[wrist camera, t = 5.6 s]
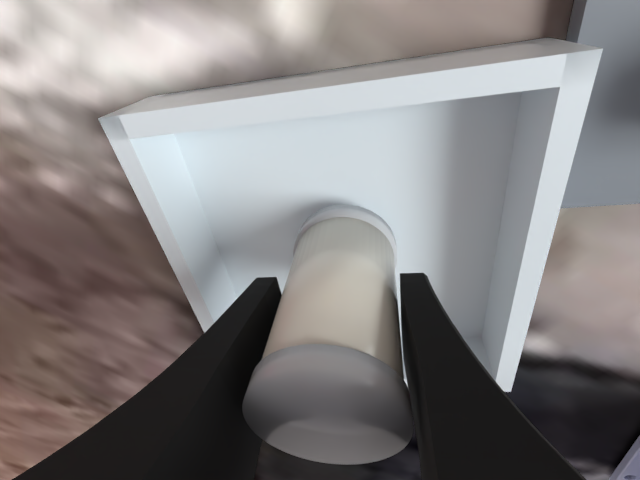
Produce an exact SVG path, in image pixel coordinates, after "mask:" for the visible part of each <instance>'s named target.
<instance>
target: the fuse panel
mask: <svg viewBox="0 0 640 480" xmlns="http://www.w3.org/2000/svg"><path fill="white" fill-rule="evenodd" d="M566 41H569V42H574V43H579V44H584V45H589V46H594V47H598V48H603V51H602V55H601V58H600V62H599V66H598V69H597V73H596V77H595V81H594V84H593V88H592V92H591V96H590V99H589V103H588V107H587V110H586V114H585V118H584V122H583V125H582V129H581V133H580V136H579V140H578V144H577V148H576V151H575V155H574V159H573V163H572V166H571V170H570V174H569V177H568V181H567V185H566V189H565V192H564V196H563V200H562V204H561V207H560V208H573V207H590V206H606V205H623V204H640V0H574V4H573V9H572V13H571V18H570V23H569V27H568V32H567V37H566Z"/></svg>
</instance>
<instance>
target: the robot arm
mask: <svg viewBox="0 0 640 480" xmlns="http://www.w3.org/2000/svg"><path fill="white" fill-rule="evenodd" d="M281 296H282V294H281V291H280V287H279V284H278V280H277V277H257V278H256V279H255V280H254V281H253V282H252V283H251V284H250V285H249V286H248V287H247V288H246V289H245V291H244V292H243V293H242V294H241V295H240V296H239V297H238V298H237V299H236V300H235V301H234V302H233V304H232V305H231V306H230V307H229V308H228V309H227V310H226V311H225V312H224V313H223V314H222V315H221V316H220V317H219V318H218V320H217V321H216V322H215V323H214V324H213V325H212V326H211V327H210V328H209V329H208V330H207V331H206V332H205V333H204V334H203V335H202V336H201V337H200V338H199V339H198V340H197V341H196V342H195V343H194V344H193V345H191V346H190V347H189V348H188V349H187V350H186V351H185V352H184V353H183V354H182V355H181V356H180V357H179V358H178V359H177V360H176V361H175V362H174V363H172V364H171V365H170V366H169V367H168V368H167V369H166V370H165V371H163V372H162V373H161V374H160V375H159V376H158V377H156V378H155V379H154V380H153V381H152V382H150V383H149V384H148V385H147V386H146V387H144V388H143V389H142V390H141V391H139V392H138V393H137V394H136V395H134V396H133V397H132V398H131V399H129V400H128V401H127V402H125V403H124V404H123V405H121V406H120V407H119V408H117V409H116V410H114V411H113V412H112V413H110V414H109V415H108V416H106V417H105V418H104V419H102V420H101V421H100V422H98V423H97V424H96V425H94V426H93V427H92V428H90V429H89V430H87V431H86V432H85V433H83V434H82V435H80V436H79V437H77V438H76V439H74V440H73V441H71V442H70V443H68V444H67V445H66V446H64V447H63V448H61V449H59V450H58V451H56V452H55V453H53V454H52V455H50V456H49V457H47V458H46V459H44V460H43V461H41V462H40V463H38V464H36V465H35V466H33V467H32V468H30V469H28V470H27V471H25V472H24V473H22V474H21V475H19V476H17V477H16V478H14V479H12V480H254V476H255V471H256V466H257V461H258V455H259V451H260V447H261V443H262V439H261V438H260V437H259V436H258V435H257V434H255V432H254V431H253V430H252V429H251V428H250V427H249V425H248V424H247V422H246V420H245V418H244V416H243V412H242V404H243V400H244V397H245V394H246V391H247V388H248V385H249V382H250V379H251V375H252V373H253V371H254V369H255V367H256V366H257V364H258V363H259V362H260V361H261V360H262V357H263V353H264V350H265V347H266V344H267V341H268V337H269V334H270V331H271V328H272V325H273V322H274V318H275V315H276V312H277V309H278V306H279V303H280V299H281ZM400 300H401V329H402V344H403V359H404V366H405V372H406V378H407V384H408V389H409V392H410V397H411V408H412V414H413V420H414V426H415V432H416V438H417V444H418V451H419V459H420V468H421V480H586V479H585V478H584V477H583V476H582V475H581V474H580V473H579V472H578V471H577V470H576V469H575V468H574V467H573V466H572V465H571V464H570V463H569V462H568V461H567V460H566V459H565V458H564V457H563V456H562V455H561V454H560V453H559V452H558V451H557V450H556V449H555V448H554V447H553V446H552V445H551V444H550V443H549V441H548V440H547V439H546V438H545V437H544V436H543V435H542V434H541V433H540V432H539V431H538V430H537V429H536V428H535V426H534V425H533V424H532V423H531V422H530V421H529V420H528V419H527V418H526V417H525V415H524V414H523V413H522V412H521V411H520V410H519V409H518V408H517V406H516V405H515V404H514V403H513V402H512V401H511V399H510V398H509V397H508V396H507V395H506V394H505V392H504V391H503V390H502V389H501V388H500V386H499V385H498V384H497V383H496V381H495V380H494V379H493V378H492V376H491V375H490V374H489V373H488V371H487V370H486V369H485V368H484V366H483V365H482V364H481V362H480V361H479V360H478V358H477V357H476V356H475V354H474V353H473V352H472V350H471V349H470V347H469V346H468V345H467V343H466V342H465V340H464V339H463V337H462V336H461V334H460V333H459V331H458V330H457V328H456V327H455V325H454V324H453V322H452V321H451V319H450V318H449V316H448V314H447V313H446V311H445V310H444V308H443V306H442V304H441V303H440V301H439V299H438V297H437V296H436V294H435V292H434V290H433V288H432V286H431V284H430V281H429V279H428V276H427V275H425V274H424V273H400ZM610 480H640V435H639V437H638V438H637V440H636V441H635V442H634V444H633V445H632V447H631V448H630V449H629V451H628V452H627V454H626V455H625V457H624V458H623V459H622V461H621V462H620V464H619V465H618V466H617V468H616V469H615V471H614V472H613V474H612V475H611V476H610Z"/></svg>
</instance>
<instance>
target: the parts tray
mask: <svg viewBox="0 0 640 480" xmlns="http://www.w3.org/2000/svg"><path fill="white" fill-rule="evenodd" d="M602 51H603V48H598V47H594V46H589V45H584V44H579V43H574V42H569V41H564V40H560V39H555V38H550V37H548V38H541V39H534V40H527V41H520V42H514V43H507V44H500V45H493V46H487V47H480V48H473V49H466V50H460V51H453V52H446V53H439V54H433V55H426V56H419V57H412V58H405V59H399V60H392V61H385V62H378V63H372V64H365V65H358V66H351V67H345V68H338V69H331V70H324V71H317V72H311V73H304V74H297V75H290V76H284V77H277V78H270V79H263V80H257V81H250V82H243V83H236V84H230V85H223V86H216V87H209V88H202V89H196V90H189V91H182V92H175V93H169V94H162V95H155V96H150V97H148V98H145V99H143V100H140V101H138V102H136V103H133V104H131V105H128V106H126V107H124V108H121V109H119V110H116V111H114V112H112V113H109V114H107V115H104V116H102V117H100V118H98V120H99V122H100V124H101V126H102V128H103V130H104V132H105V134H106V136H107V138H108V140H109V142H110V144H111V146H112V148H113V150H114V152H115V154H116V156H117V158H118V160H119V162H120V164H121V166H122V168H123V170H124V172H125V174H126V176H127V178H128V180H129V182H130V184H131V186H132V188H133V190H134V192H135V194H136V196H137V198H138V200H139V202H140V204H141V206H142V208H143V210H144V212H145V214H146V216H147V218H148V220H149V222H150V224H151V226H152V228H153V230H154V232H155V234H156V236H157V239H158V241H159V243H160V245H161V247H162V249H163V251H164V253H165V255H166V257H167V259H168V261H169V263H170V265H171V267H172V269H173V271H174V273H175V275H176V277H177V279H178V281H179V283H180V285H181V287H182V289H183V291H184V293H185V295H186V297H187V299H188V301H189V303H190V305H191V307H192V309H193V311H194V313H195V315H196V317H197V319H198V321H199V323H200V325H201V327H202V329H203V331H204V333H205V332H206V331H207V330H208V329H209V328H210V327H211V326H212V325H213V324H214V323H215V322H216V321H217V320H218V318H219V317H220V316H221V315H222V314H223V313H224V312H225V311H226V310H227V309H228V308H229V307H230V306H231V305H232V304H233V302H234V301H235V300H236V299H237V298H238V297H239V296H240V295H241V294H242V293H243V292H244V291H245V289H246V288H247V287H248V286H249V285H250V284H251V283H252V282H253V281H254V280H255V279H256V278H257V277H277V280H278V284H279V287H280V291H281V294H282V293H283V290H284V287H285V283H286V280H287V277H288V274H289V271H290V268H291V264H292V261H293V258H294V256H293V251H294V245H295V241H296V238H297V235H298V232H299V230H300V228H301V226H302V225H303V223H304V222H305V221H306V220H307V218H309V217H310V216H311V215H312V214H314V213H315V212H317V211H319V210H321V209H323V208H326V207H329V206H334V205H354V206H359V207H362V208H365V209H368V210H370V211H372V212H374V213H376V214H377V215H379V216H380V217H381V218H382V219H383V220H384V221H385V222H386V223H387V224H388V225H389V226H390V228H391V230H392V232H393V234H394V236H395V240H396V247H397V266H396V269H395V274H396V286H397V298H398V311H399V323H400V336H401V348H402V361H403V373H404V381H405V383H406V385H407V387H408V384H407V378H406V372H405V366H404V359H403V344H402V329H401V300H400V273H424V274H425V275H427V276H428V279H429V281H430V284H431V286H432V288H433V290H434V292H435V294H436V296H437V297H438V299H439V301H440V303H441V304H442V306H443V308H444V310H445V311H446V313H447V314H448V316H449V318H450V319H451V321H452V322H453V324H454V325H455V327H456V328H457V330H458V331H459V333H460V334H461V336H462V337H463V339H464V340H465V342H466V343H467V345H468V346H469V347H470V349H471V350H472V352H473V353H474V354H475V356H476V357H477V358H478V360H479V361H480V362H481V364H482V365H483V366H484V368H485V369H486V370H487V371H488V373H489V374H490V375H491V376H492V378H493V379H494V380H495V381H496V383H497V384H498V385H499V386H500V388H501V389H502V390H503V391H504V392H511V390H512V386H513V382H514V379H515V375H516V371H517V368H518V364H519V360H520V356H521V353H522V349H523V345H524V341H525V338H526V334H527V330H528V327H529V323H530V319H531V315H532V312H533V308H534V304H535V300H536V297H537V293H538V289H539V286H540V282H541V278H542V274H543V271H544V267H545V263H546V259H547V256H548V252H549V248H550V245H551V241H552V237H553V233H554V230H555V226H556V222H557V218H558V215H559V211H560V207H561V204H562V200H563V196H564V192H565V189H566V185H567V181H568V177H569V174H570V170H571V166H572V163H573V159H574V155H575V151H576V148H577V144H578V140H579V136H580V133H581V129H582V125H583V122H584V118H585V114H586V110H587V107H588V103H589V99H590V96H591V92H592V88H593V84H594V81H595V77H596V73H597V69H598V66H599V62H600V58H601V55H602Z"/></svg>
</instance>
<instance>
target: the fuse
mask: <svg viewBox="0 0 640 480" xmlns="http://www.w3.org/2000/svg"><path fill="white" fill-rule="evenodd" d="M293 256H294V258H293V261H292V264H291V268H290V271H289V274H288V277H287V280H286V283H285V287H284V290H283V293H282V296H281V299H280V303H279V306H278V309H277V312H276V315H275V318H274V322H273V325H272V328H271V331H270V334H269V337H268V341H267V344H266V347H265V350H264V353H263V357H262V360H261V361H260V362H259V363H258V364H257V366H256V367H255V369H254V371H253V373H252V375H251V379H250V382H249V385H248V388H247V391H246V394H245V397H244V400H243V404H242V412H243V416H244V418H245V420H246V422H247V424H248V425H249V427H250V428H251V429H252V430H253V431H254V432H255V434H257V435H258V436H259V437H260V438H261V439H263V440H264V441H266V442H267V443H269V444H270V445H272V446H274V447H276V448H278V449H280V450H282V451H284V452H286V453H289V454H291V455H294V456H297V457H300V458H304V459H308V460H312V461H317V462H322V463H330V464H349V465H350V464H364V463H371V462H376V461H379V460H383V459H386V458H388V457H391V456H393V455H395V454H396V453H398V452H400V451H401V450H402V449H404V448H405V447H406V445H407V444H408V443H409V441H410V440H411V438H412V434H413V419H412V408H411V397H410V392H409V389H408V387H407V385H406V383H405V381H404V373H403V361H402V348H401V336H400V323H399V311H398V298H397V286H396V274H395V269H396V266H397V247H396V240H395V236H394V234H393V232H392V230H391V228H390V226H389V225H388V224H387V223H386V222H385V221H384V220H383V219H382V218H381V217H380V216H379V215H377V214H376V213H374V212H372V211H370V210H368V209H365V208H362V207H359V206H354V205H334V206H329V207H326V208H323V209H321V210H319V211H317V212H315V213H314V214H312V215H311V216H310V217H309V218H307V220H306V221H305V222H304V223H303V225H302V226H301V228H300V230H299V232H298V235H297V238H296V241H295V245H294V251H293Z"/></svg>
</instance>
